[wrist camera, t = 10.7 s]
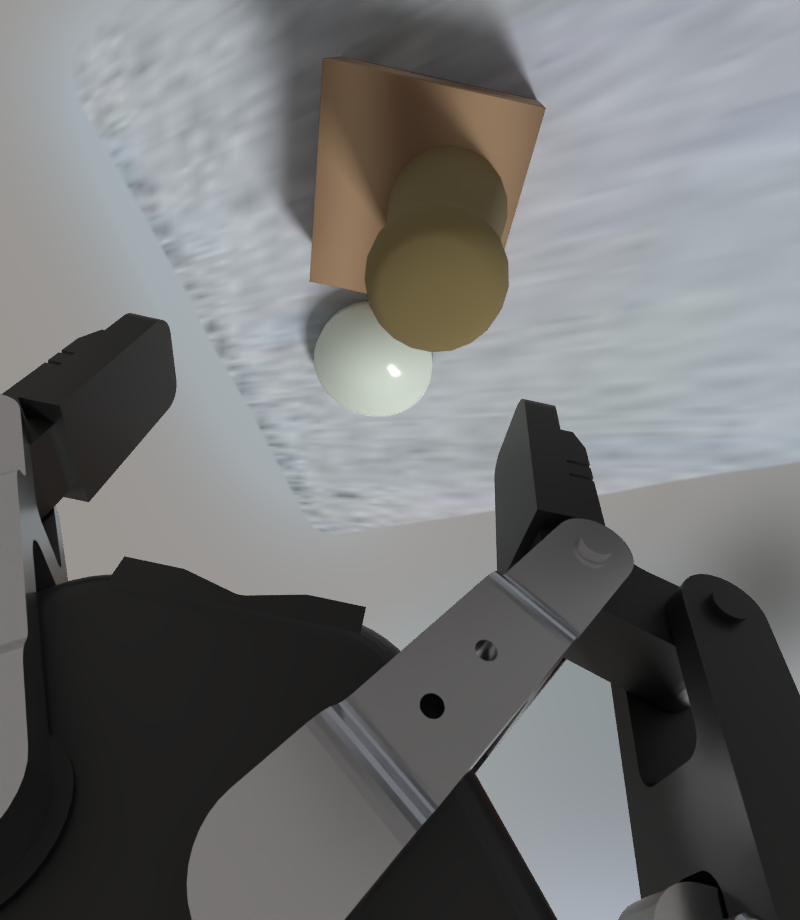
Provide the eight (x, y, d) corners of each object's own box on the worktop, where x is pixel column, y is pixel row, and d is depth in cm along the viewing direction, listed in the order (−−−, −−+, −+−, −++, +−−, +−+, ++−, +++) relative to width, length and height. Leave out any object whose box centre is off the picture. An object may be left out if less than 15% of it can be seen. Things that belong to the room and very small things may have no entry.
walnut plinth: (537, 100, 26) (545, 108, 23) (483, 291, 32) (484, 318, 29) (341, 56, 26) (322, 58, 23) (325, 258, 32) (309, 281, 29)
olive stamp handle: (372, 251, 28) (327, 344, 19) (410, 124, 24) (373, 169, 15) (477, 291, 28) (478, 398, 20) (529, 174, 24) (559, 244, 16)
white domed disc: (445, 313, 34) (444, 325, 32) (420, 412, 39) (418, 426, 37) (324, 287, 34) (318, 297, 32) (315, 390, 39) (310, 403, 37)
